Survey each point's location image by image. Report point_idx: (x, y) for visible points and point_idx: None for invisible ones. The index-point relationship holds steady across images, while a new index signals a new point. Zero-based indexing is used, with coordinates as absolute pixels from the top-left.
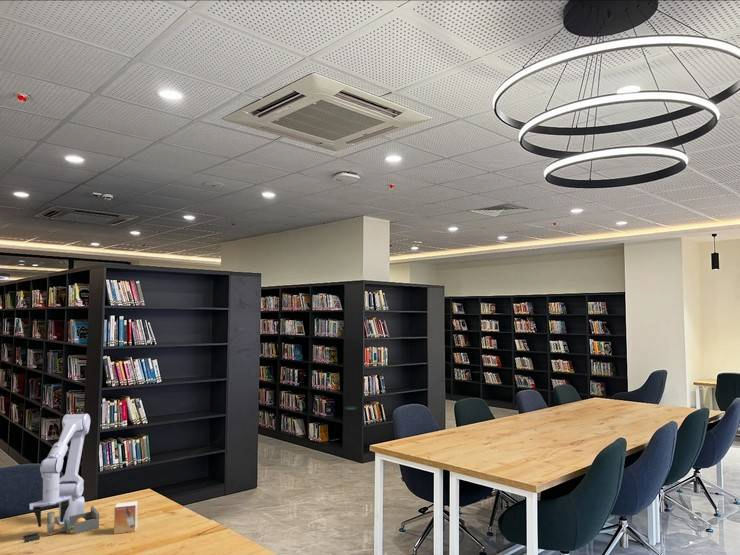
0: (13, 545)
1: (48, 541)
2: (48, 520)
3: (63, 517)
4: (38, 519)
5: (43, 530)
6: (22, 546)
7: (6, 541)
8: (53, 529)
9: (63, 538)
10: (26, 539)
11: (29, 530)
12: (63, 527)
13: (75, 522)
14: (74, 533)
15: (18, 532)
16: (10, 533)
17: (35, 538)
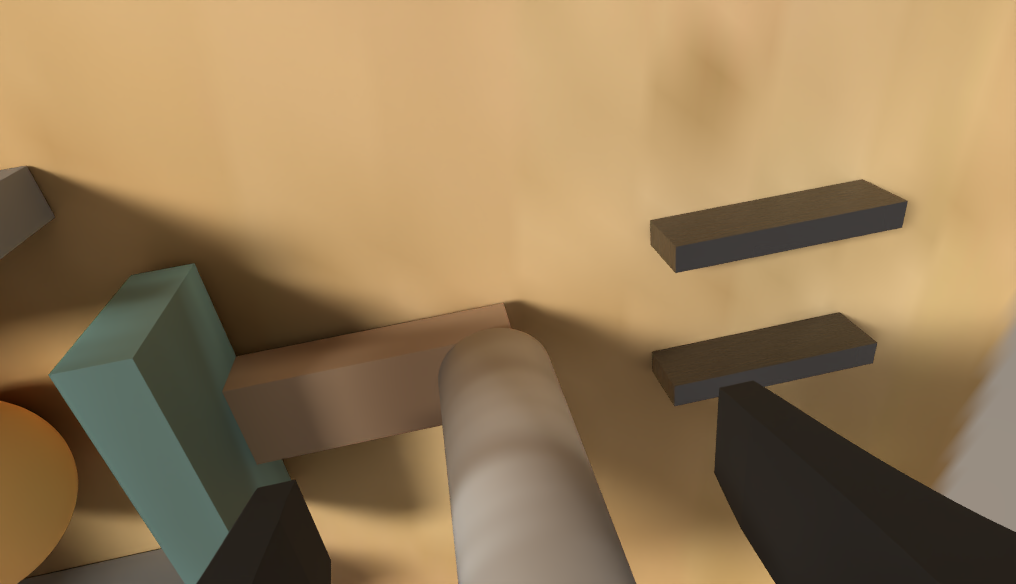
0: (1000, 159)
1: (515, 21)
2: (595, 512)
3: (204, 572)
4: (916, 499)
5: None
6: (929, 21)
7: (996, 358)
8: (449, 370)
9: (221, 29)
10: (868, 204)
11: (711, 573)
12: (283, 442)
13: (35, 512)
14: (12, 173)
15: None
16: None
17: (724, 223)
